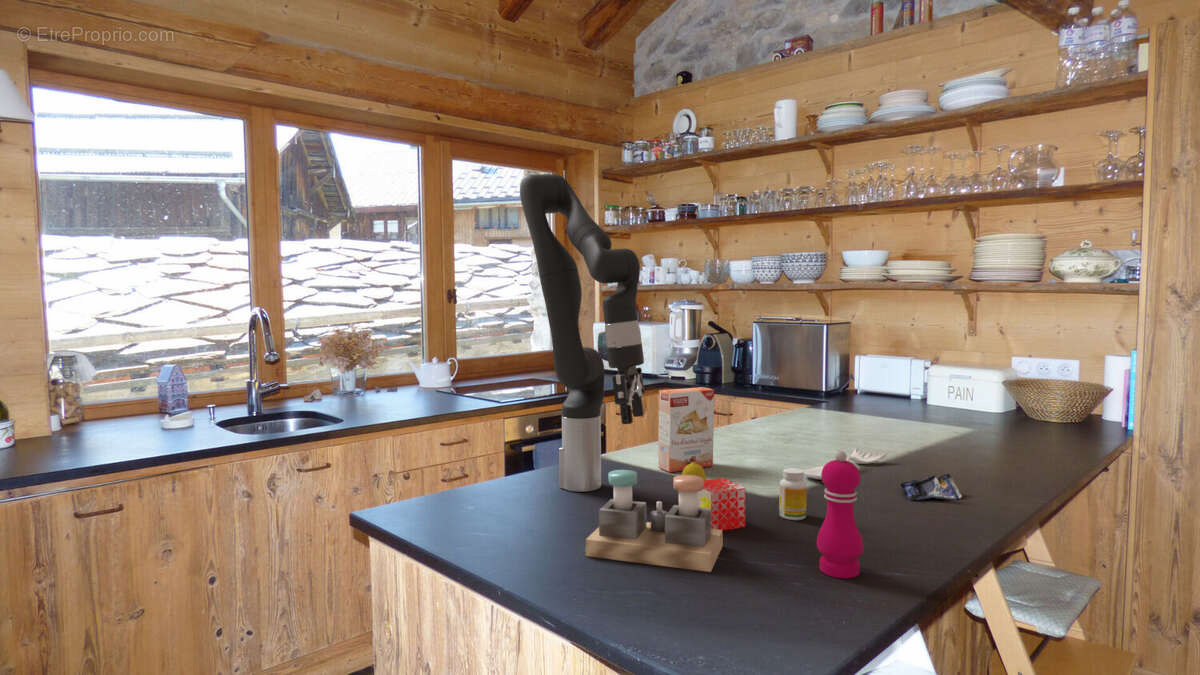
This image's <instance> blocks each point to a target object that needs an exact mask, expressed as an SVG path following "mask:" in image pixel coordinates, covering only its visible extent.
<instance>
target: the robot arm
mask: <svg viewBox="0 0 1200 675" xmlns="http://www.w3.org/2000/svg"><path fill="white" fill-rule="evenodd" d="M519 197H520V198H519V199H520V203H521V207H522V211H523V214H524V217H525V220H526V224H527V227H528V231H529V235H530V238H531V241H532V245H533V250H534V254H535V259H536V264H537V269H538V277H539V281H540V286H541V292H542V294H543V300H544V304H545V309H546V313H547V320H548V324H549V328H550V335H551V345H552V354H553V355H552V357H553V366H554V370H555V374H556V377H557V379H558V381H559V382H560V383H561V385H562V386H564V387H565V388H566V389H568V390H569V391H568V395H567V397H566V398H565V400H564V402H563V403H562V404H561V447H559V449H558V471H559V472H558V473H559V479H558V480H559V482H558V484H559V489H564V490H566V491H569V492H570V491H571V492H580V493H581V492H583V493H585V492H593V491H596V490H598V489H600V488H601V487H602V454H601V453H602V444H601V443H602V440H601V438H602V436H601V434H602V432H601V427H602V426H601V424H602V423H601V409H602V405H603V404H604V396H605V365H604V360H603V357H602V355H601V354H600V353H599V352H598V351H597V350H596V349H594V348H593V347H587V346H586V347H583V343H582V339H581V334H580V328H579V326H580V325H579V319H580V310H581V303H582V295H583V294H582V293H583V292H582V284H581V279H580V274H579V273H580V272H579V269H578V265H577V262H576V260H575V259H574V258H573V255H572V254H570V252H569V251H568V250H567V249H566V247H565V245H563V243H561V242H560V240H558V238H557V237H556V235H555V234H554V233H553V230H552V229H551V226H550V223H549V221H548V217H547V215H549V214H556V213H560V214H561V215H563V216H564V217H565V218H567V219H566V228H565V229H566V235H567V238H568V239H569V241H570V243H571V244H572V245H573V247H574V248H575V249H576V250H577V251H578V252H579V253H580V254H581V255H582V257H583V259H584V262H585V265H586V267H587V270H588V272H589V275H590V276H591V278H592V279H593V280H595V281H596V282H598V283H600V284H603V285H604V284H614V283H615V284H617V286H616V291H615V292H614V293H613V294H610V295H609V294H608V295H607V296H605V297H604V298H603V300H602V311H603V312H602V313H603V319H604V329H605V330H604V338H605V346H606V347H605V348H606V355H607V362H608V367H609V368H611V369H617V374H613V375H612V386H613V395H614V404H615V405H618V407H619V411H620V419H621V424H622V425H631V424H633V422H634V421H633V420H634V419H633V417H634V418H636V417H642V416H644V407H643V406H644V405H643V397H644V395H645V391H646V390H645V385H644V378H643V372H642V371H643V370H642V367H640V366H641V365H643V364H644V363H645V359H644V358H645V357H644V350H643V342H642V333H641V328H640V324H639V317H638V309H637V295H638V287H639V286H638V285H639V278H640V271H641V268H640V267H641V266H640V260H639V258H638V256H637V254H636V253H635V252H634V251H633V250H632V249H630V248H612V240H611V237H610V236H609V235H608V234H607V233H606V232H605V231H604V229H603V228H602V227H601V226H600V225H599V224H598V223H597V222H596V221H594V220H593V219H592V217H591V216H590V215H589V213H588V212H587V210H586V209H585V207H584V205H583V204H582V202H581V200H580V198H579V197H578V196H577V194H576V192H575V191H574V188H572V186H571V184H570V183H569V182H568V181H567V179H566V178H565V177H563V176H562V175H561V174H558V173H543V174H541V173H540V174H538V173H536V174H535V173H534V174H526V175H524V176H523V178H522V179H521V180H520V183H519ZM637 366H639V367H637Z"/></svg>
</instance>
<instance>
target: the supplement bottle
mask: <svg viewBox="0 0 1200 675" xmlns="http://www.w3.org/2000/svg"><path fill="white" fill-rule="evenodd" d="M803 470H804V469H800V468H793V467H788V468H787V467H786V468H785V469H783V471H782V473H783V474H782V476H783V478H782V479H781V480H780V481H779V489H778V490H779V495H778V496H779V500H778V502H779V503H778V506H779V507H778V511H779V512H778V513H779V516H780V517H781V518H783V519H785V520H790V521H801V520H804V519H805V518H806V517H807V498H808V497H807V495H808V494H807V493H808V492H807V491H808V487H807V486H808V485H807V482H806V481H805V480H804V478H805V475H804V472H803Z"/></svg>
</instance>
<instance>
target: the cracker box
mask: <svg viewBox="0 0 1200 675" xmlns="http://www.w3.org/2000/svg"><path fill="white" fill-rule="evenodd" d="M714 412H715V390H714V389H712V388H709V387H704V386H702V387H700V386H699V387H689V388H688V387H686V388H674V389H671V388H670V389H663V390H662V389H661V390H660V389H659V391H658V469H661V470H663V471H665V472H668V473H675V472H683V469H684V468H685V467H686V466H687V465H689V464H691V463H692V462H695V463H696V464H698V465H700V466H701V467H702V468H703V469H704V467H705V468H711V467H710V466H712V467H714V431H715V430H714V422H715V418H714V417H715V415H714V414H715V413H714Z"/></svg>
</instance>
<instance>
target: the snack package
mask: <svg viewBox="0 0 1200 675" xmlns="http://www.w3.org/2000/svg"><path fill="white" fill-rule="evenodd" d="M900 487H901V489H902V490H903V492H904V494H903V495H904V496H905V499H908V500H909V501H910V502H914V501H920V500H921V501H922V500H929V499H931V498H933V499H939V500H946V501H947V500H948V501H954V500H959V499H961V498H962V496H963V495H962V493H960V490H959V488H958V487H957V484H956V483H955V481H954V479H953V477H952V475H951V474H950V473H946V474H942V475H941V476H939V477H938V478H937V476H936V474H935V475H930V476H928V477H925V478H922V479H919V480H917V479H914V480H910V481H904V482H902V483H901V484H900Z"/></svg>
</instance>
